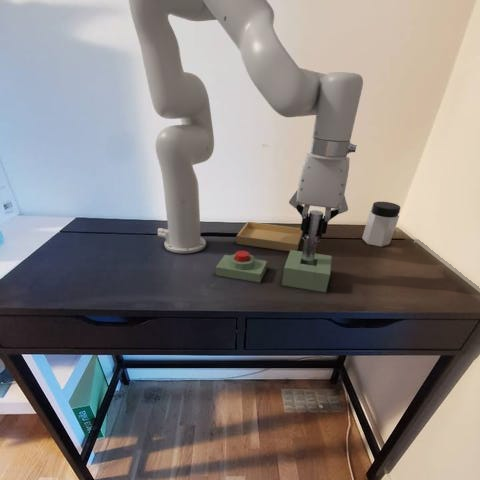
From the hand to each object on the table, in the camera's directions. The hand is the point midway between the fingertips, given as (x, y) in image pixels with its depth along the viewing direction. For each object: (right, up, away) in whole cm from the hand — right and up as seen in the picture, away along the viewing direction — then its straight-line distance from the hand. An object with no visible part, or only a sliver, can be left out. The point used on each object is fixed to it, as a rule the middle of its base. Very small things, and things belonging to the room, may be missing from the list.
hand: (312, 234), depth 75 cm
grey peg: (0, -5, +4) cm, 6 cm away
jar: (+28, +6, +30) cm, 41 cm away
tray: (-7, +6, +28) cm, 29 cm away
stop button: (-17, -5, +7) cm, 19 cm away
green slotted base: (0, -10, +7) cm, 12 cm away
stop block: (-17, -8, +9) cm, 21 cm away
